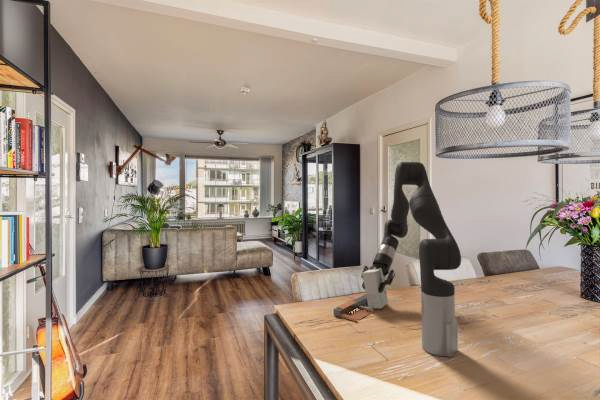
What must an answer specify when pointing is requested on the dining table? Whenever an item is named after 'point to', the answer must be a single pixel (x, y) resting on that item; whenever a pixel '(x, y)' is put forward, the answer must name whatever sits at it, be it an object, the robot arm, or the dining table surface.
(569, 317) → the dining table surface
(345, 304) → the rail
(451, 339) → the robot arm
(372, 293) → the skincare box
